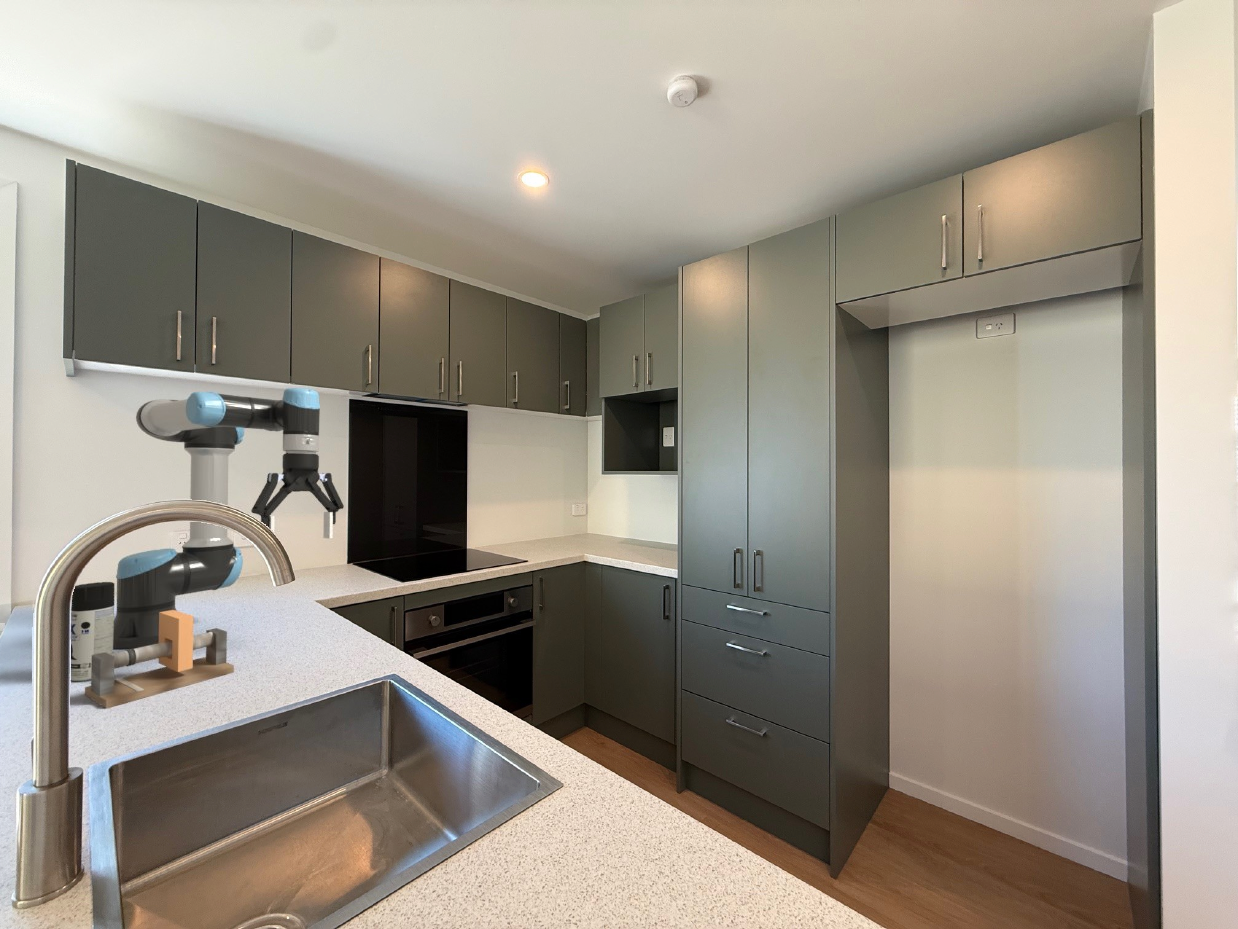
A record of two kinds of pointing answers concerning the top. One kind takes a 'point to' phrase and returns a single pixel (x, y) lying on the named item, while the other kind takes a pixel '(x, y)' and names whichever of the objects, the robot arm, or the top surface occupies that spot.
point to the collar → (177, 639)
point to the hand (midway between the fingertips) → (300, 541)
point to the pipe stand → (159, 679)
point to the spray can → (90, 626)
